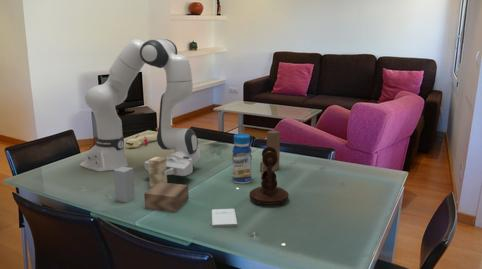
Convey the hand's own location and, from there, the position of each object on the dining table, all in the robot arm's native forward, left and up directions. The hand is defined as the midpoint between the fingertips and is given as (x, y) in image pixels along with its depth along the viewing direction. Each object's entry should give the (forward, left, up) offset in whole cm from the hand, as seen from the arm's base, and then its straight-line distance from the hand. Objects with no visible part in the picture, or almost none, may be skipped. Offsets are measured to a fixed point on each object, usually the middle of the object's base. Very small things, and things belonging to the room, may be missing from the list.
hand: (156, 172), depth 173 cm
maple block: (0, +1, -7) cm, 7 cm away
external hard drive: (+38, -15, -7) cm, 42 cm away
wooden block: (+34, +40, -7) cm, 53 cm away
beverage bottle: (+28, +22, -7) cm, 36 cm away
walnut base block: (+13, -12, -7) cm, 19 cm away
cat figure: (-46, +54, -7) cm, 71 cm away
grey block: (-4, -15, -7) cm, 17 cm away
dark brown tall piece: (+46, +7, -7) cm, 47 cm away
